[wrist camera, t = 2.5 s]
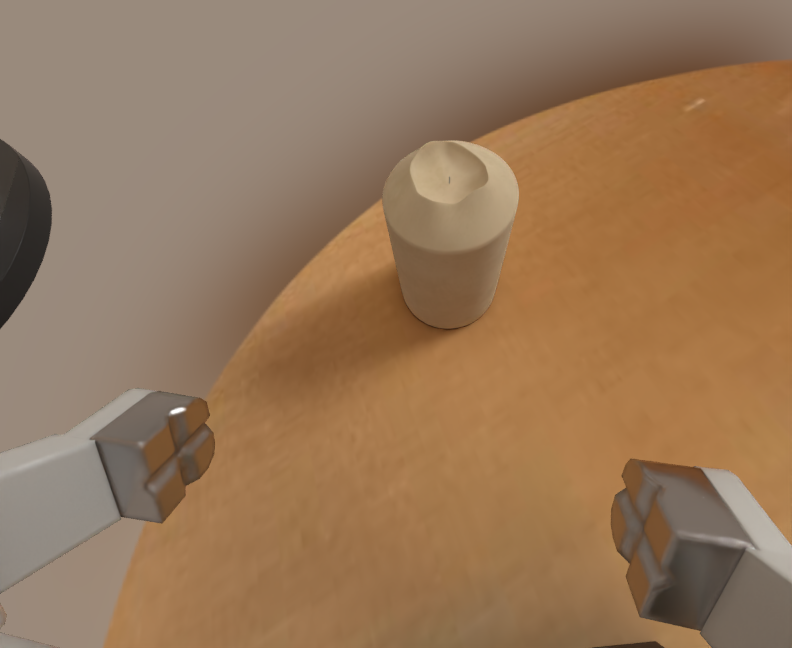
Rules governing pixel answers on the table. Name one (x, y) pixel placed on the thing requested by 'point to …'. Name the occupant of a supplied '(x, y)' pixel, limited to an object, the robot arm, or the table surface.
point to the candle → (450, 229)
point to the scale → (636, 645)
